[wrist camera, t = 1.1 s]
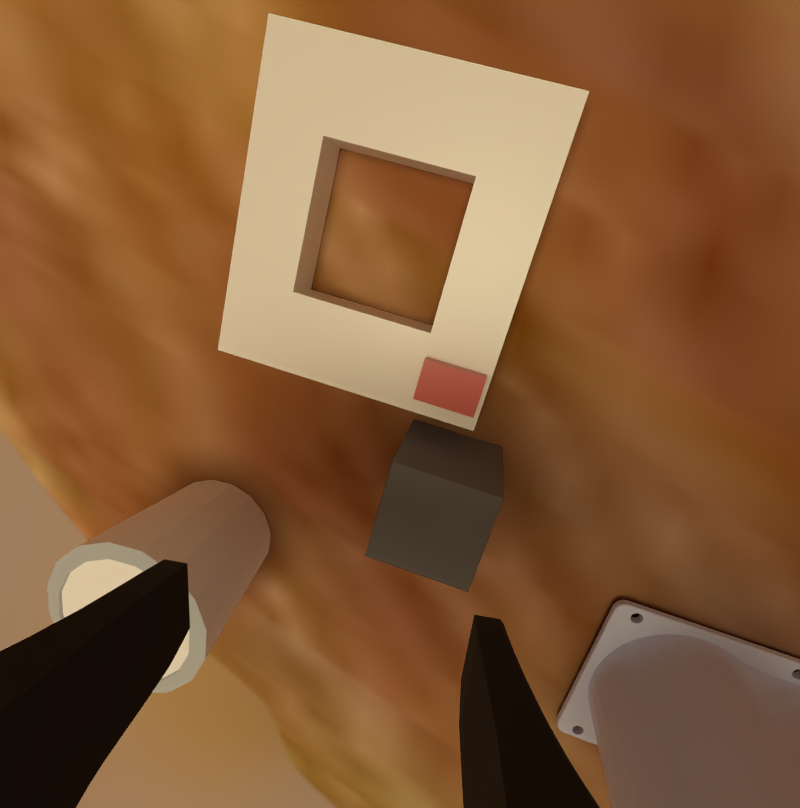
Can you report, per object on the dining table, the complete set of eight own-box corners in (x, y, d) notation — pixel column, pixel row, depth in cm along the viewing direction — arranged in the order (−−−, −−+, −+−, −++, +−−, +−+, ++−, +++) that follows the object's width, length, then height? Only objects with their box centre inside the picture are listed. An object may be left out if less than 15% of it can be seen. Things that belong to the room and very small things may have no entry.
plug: (501, 446, 21) (503, 498, 17) (473, 523, 23) (468, 591, 18) (414, 418, 22) (392, 462, 17) (391, 495, 23) (365, 556, 18)
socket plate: (579, 109, 17) (592, 84, 15) (475, 416, 21) (472, 436, 19) (291, 38, 18) (260, 4, 16) (241, 342, 22) (210, 352, 20)
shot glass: (149, 464, 25) (25, 537, 18) (275, 471, 24) (191, 551, 17) (170, 581, 27) (64, 685, 20) (288, 592, 26) (216, 707, 19)
